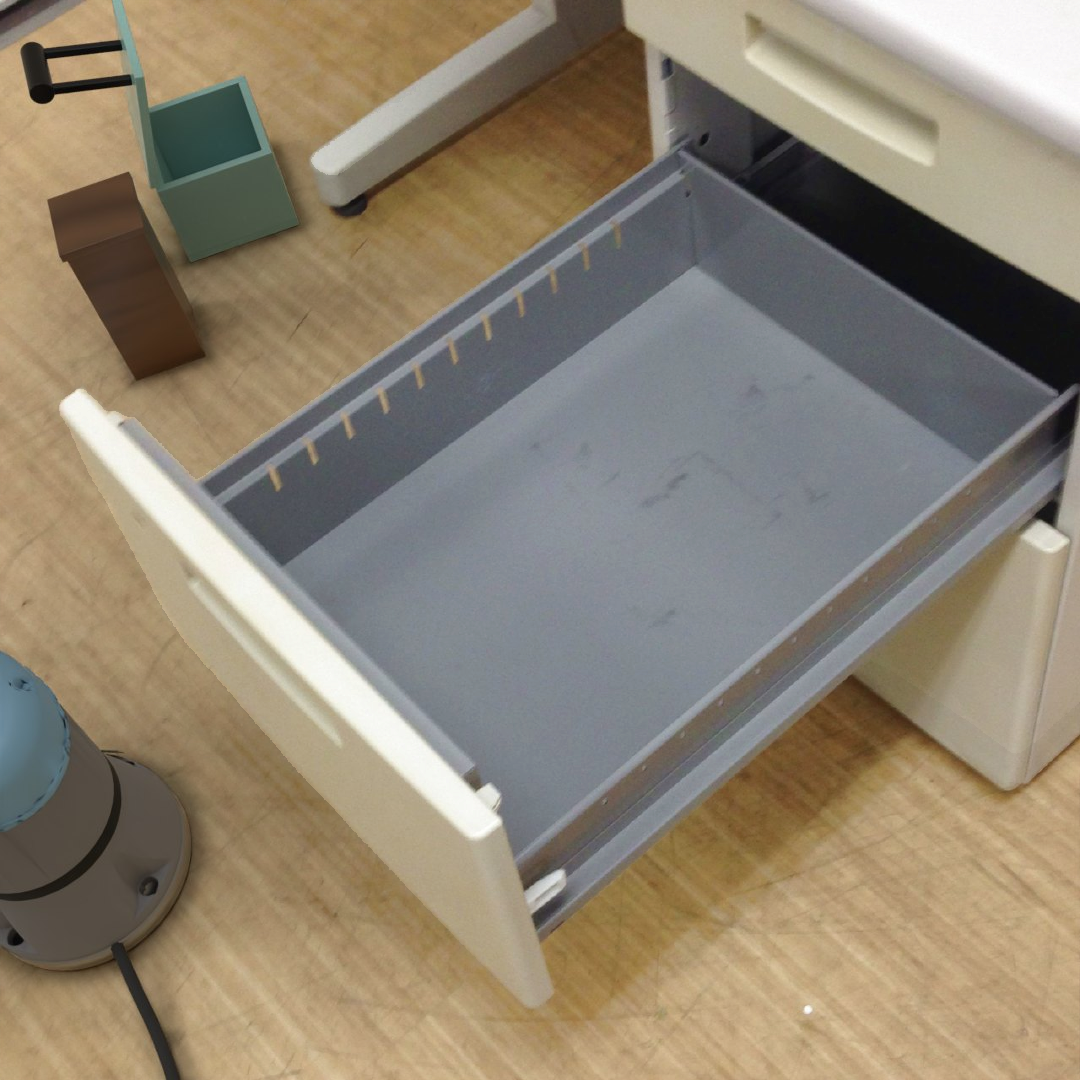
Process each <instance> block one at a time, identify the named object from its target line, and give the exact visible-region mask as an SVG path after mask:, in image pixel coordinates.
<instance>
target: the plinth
mask: <svg viewBox="0 0 1080 1080" xmlns="http://www.w3.org/2000/svg"><path fill="white" fill-rule="evenodd" d="M133 178H134V177H132V174H131V172H130V171H125V172H123V173H120V174H117V175H114V176H111V177H108V178H105V179H102V180H100V181H99V180H98V181H97V182H93V183H91V184H88V185H85V186H82V187H79V188H76V189H74V190H70V191H68V192H64V193H62V194H59V195H56V196H54V197H53V196H52V197H51V198H48V199H46V201H47V202H46V203H47V206H48V211H49V216H50V220H51V224H52V230H53V234H54V239H55V243H56V247H57V252H58V256H59V258H60V260H61V262H62V263H66V262H67V263H68V265H69V267H70V268H71V270H72V272H73V274H74V275H75V277H76V279H77V280H78V283H79V284H80V286H81V288H82V289H83V291H84V293H85V294H86V296H87V298H88V300H89V301H90V303H91V305H92V307H93V308H94V310H95V312H96V313H97V316H98V317H99V319H100V320H101V322H102V324H103V326H104V327H105V330H106V331H107V332H108V333H107V334H109V336H110V338H111V340H112V341H113V343H114V345H115V347H116V349H117V351H118V352H119V353H120V355H121V357H122V359H123V361H124V362H125V364H126V366H127V367H128V369H129V371H130V373H131V374H132V376H133V378H134V380H135V381H139V380H142V379H145V378H148V377H150V376H154V375H156V374H158V373H162V372H165V371H167V370H170V369H173V368H176V367H179V366H182V365H185V364H188V363H189V362H193V361H195V360H199V359H201V358H203V357H206V352H205V349H204V347H203V342H202V339H201V335H200V331H199V328H198V324H197V320H196V318H195V313H194V310H193V307H192V305H191V303H190V300H189V299H188V296H187V294H186V292H185V290H184V288H183V287H182V286H183V285H182V284H181V282H180V280H179V278H178V276H177V274H176V272H175V271H174V268H173V266H172V264H171V262H170V260H169V259H168V255H167V254H166V252H165V249H164V248H163V246H162V243H161V241H160V240H159V238H158V236H157V234H156V232H155V229H154V227H153V225H152V224H151V222H150V220H149V218H148V216H147V214H146V212H145V210H144V208H143V206H142V204H141V202H140V199H139V198H138V193H137V190H136V186H135V182H134V179H133Z"/></svg>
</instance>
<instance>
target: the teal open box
mask: <svg viewBox="0 0 1080 1080" xmlns="http://www.w3.org/2000/svg"><path fill="white" fill-rule="evenodd" d="M148 107H149V114H150V122H151V129H152V136H153V143H154V150H155V158H156V165H157V172H158V179H159V186H160V187H159V188H155V190H156V194H157V196H158V197H159V199H160V202H161V204H162V206H163V208H164V210H165V213H166V215H167V216H168V218H169V220H170V222H171V224H172V226H173V229H174V231H175V232H176V234H177V237H178V239H179V241H180V243H181V246H182V247H183V249H184V252H185V253H186V256H187V258H188V260H189V262H190V263H193V262H196V261H200V260H202V259H204V258H208V257H211V256H213V255H217V254H219V253H222V252H225V251H227V250H230V249H233V248H236V247H239V246H242V245H245V244H248V243H250V242H253V241H257V240H259V239H262V238H264V237H268V236H270V235H274V234H276V233H279V232H282V231H285V230H287V229H291V228H294V227H296V226H299V225H300V222H299V221H300V220H299V219H298V215H297V213H296V210H295V208H294V205H293V202H292V199H291V196H290V194H289V191H288V187H287V185H286V182H285V179H284V177H283V174H282V171H281V168H280V166H279V163H278V159H277V157H276V154H275V152H274V149H273V146H272V143H271V140H270V139H269V136H268V132H267V130H266V128H265V126H264V122H263V120H262V117H261V115H260V112H259V109H258V107H257V105H256V102H255V99H254V97H253V94H252V91H251V89H250V86H249V84H248V81H247V77H246V76H245V74H243V75H239V76H237V77H234V78H231V79H228V80H224V81H222V82H219V83H217V84H213V85H211V86H208V87H205V88H202V89H199V90H196V91H194V92H190V93H187V94H184V95H181V96H178V97H176V98H172V99H170V100H166V101H164V102H161V103H158V104H155V105H153V106H148Z"/></svg>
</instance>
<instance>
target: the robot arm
mask: <svg viewBox="0 0 1080 1080" xmlns="http://www.w3.org/2000/svg"><path fill="white" fill-rule="evenodd" d="M115 754H124V752H122V751H119V750H113V749H100V748H99V747H98V746H97V744H96V743H95V742H94V741H93V740H92V738H90V736H89V735H88V734H87V732H85V731H84V729H82V727H81V726H80V725H79V723H77V721H76V719H74V718H73V717H72V716H71V715H70V713H69V712H68V711H67V710H66V709H65V708H64V707H63V705H62V704H61V703H60V702H59V700H58V698H57V696H56V693H54V691H53V690H52V689H51V687H50V686H49V685H48V684H47V683H45V682H44V680H43V679H42V678H40V677H39V676H38V675H36V673H35V672H33V670H31V669H30V668H29V667H28V666H25V665H23V664H22V663H20V662H19V661H18V660H17V659H15V658H14V657H13V656H11V655H10V654H8V653H7V652H5V651H3V650H1V649H0V947H2V948H3V949H4V950H6V951H7V952H8V953H10V954H11V955H13V956H14V957H15V958H16V959H18V960H20V961H22V962H24V963H26V964H28V965H31V966H34V967H36V968H40V969H44V970H50V971H61V972H62V971H63V972H64V971H77V970H83V969H84V970H85V969H88V968H92V967H96V966H99V965H101V964H105V963H107V962H109V961H112V960H115V962H116V964H117V966H118V968H119V971H120V973H121V975H122V978H123V980H124V982H125V984H126V986H127V989H128V991H129V994H130V995H131V997H132V999H133V1002H134V1004H135V1006H136V1008H137V1011H138V1012H139V1014H140V1016H141V1019H142V1021H143V1022H144V1025H145V1027H146V1029H147V1032H148V1034H149V1036H150V1039H151V1041H152V1043H153V1046H154V1048H155V1051H156V1054H157V1057H158V1059H159V1062H160V1065H161V1068H162V1070H163V1071H162V1072H163V1075H164V1077H165V1080H182V1079H181V1077H180V1072H179V1070H178V1066H177V1063H176V1061H175V1058H174V1055H173V1053H172V1050H171V1047H170V1045H169V1042H168V1040H167V1037H166V1035H165V1034H166V1033H165V1032H164V1029H163V1028H162V1025H161V1023H160V1021H159V1019H158V1017H157V1015H156V1012H155V1010H154V1008H153V1005H152V1004H151V1001H150V1000H149V998H148V996H147V993H146V992H145V989H144V988H143V985H142V983H141V981H140V979H139V977H138V974H137V972H136V969H135V968H134V965H133V963H132V961H131V959H130V956H129V954H128V951H130V950H131V949H133V948H134V947H135V946H137V945H138V944H140V943H141V942H142V941H143V940H145V939H146V938H147V937H148V936H149V935H150V934H151V933H152V932H153V931H154V930H155V929H156V928H157V927H158V926H159V925H160V924H161V923H162V921H163V920H164V919H165V918H166V916H167V915H168V914H169V912H170V911H171V909H172V907H174V904H175V903H176V901H177V898H178V897H179V895H180V893H181V891H182V889H183V887H184V884H185V882H186V878H187V875H188V872H189V868H190V867H189V866H190V861H191V855H192V835H191V828H190V823H189V820H188V816H187V813H186V810H185V809H184V807H183V804H182V803H181V801H180V800H179V798H178V797H177V795H176V794H175V793H174V791H173V790H172V789H171V788H170V787H169V785H168V784H167V783H166V782H165V781H164V780H163V779H162V777H161V776H159V774H157V773H156V772H154V770H152V769H151V768H149V767H147V766H146V765H144V764H142V763H140V762H138V761H135V760H132V759H131V758H127V757H123V756H120V755H115Z"/></svg>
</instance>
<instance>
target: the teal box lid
mask: <svg viewBox="0 0 1080 1080" xmlns="http://www.w3.org/2000/svg"><path fill="white" fill-rule="evenodd" d="M111 4H112V9H113V17H114V24H115V30H116V31H115V32H116V37H117V39H114V40H113V39H112V40H105V41H97V42H88V43H79V44H70V45H61V46H60V45H59V46H53V47H52V46H51V47H44V46H43V45H42V44H40V43H39V42H38V41H37V42H36V41H28V42H26V43H24V44H23V45H22V46H21V48H20V51H19V53H20V59H21V62H22V67H23V71H24V77H25V80H26V86H27V90H28V94H29V97H30V99H31V101H33V102H34V103H36V104H39V105H47V104H49V103H51V102H52V101H53V100H54V99H55V96H58V95H65V94H72V93H73V94H74V93H80V92H81V93H82V92H89V91H90V92H91V91H98V90H104V89H105V90H106V89H113V88H124V90H125V96H126V103H127V104H126V105H127V109H128V112H129V116H130V120H131V123H132V127H133V131H134V135H135V138H136V142H137V146H138V149H139V152H140V156H141V160H142V164H143V167H144V172H145V175H146V177H147V181H148V185H149V189H151V190H152V189H156V188H159V187H160V186H159V179H158V172H157V165H156V158H155V150H154V143H153V136H152V129H151V122H150V114H149V107H150V106H149V101H148V93H147V85H146V80H145V74H144V70H143V68H142V64H141V62H140V57H139V54H138V51H137V48H136V44H135V43H136V42H135V39H134V37H133V33H132V30H131V27H130V24H129V19H128V16H127V13H126V9H125V6H124V3H123V0H111ZM115 52H119V57H120V64H121V70H122V74H121V75H120V74H119V75H111V76H103V77H95V78H94V77H93V78H88V79H78V80H71V81H70V80H69V81H62V82H61V81H60V82H53V79H52V75H51V70H50V66H49V61H48V60H54V59H61V58H71V57H80V56H88V55H97V54H105V53H106V54H107V53H115Z"/></svg>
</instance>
